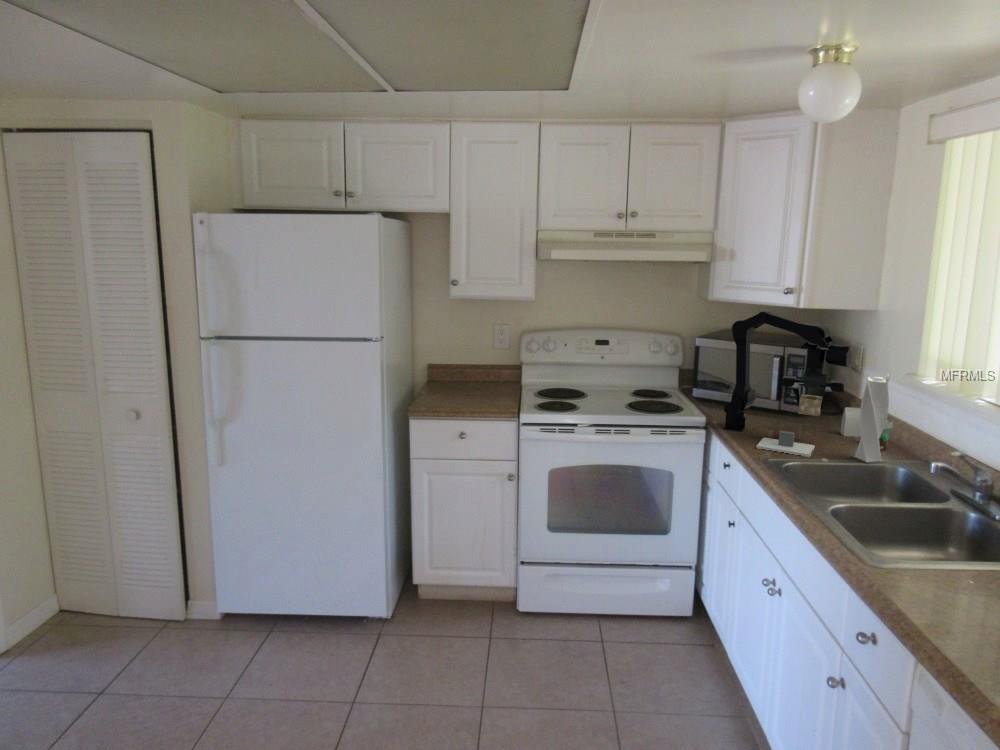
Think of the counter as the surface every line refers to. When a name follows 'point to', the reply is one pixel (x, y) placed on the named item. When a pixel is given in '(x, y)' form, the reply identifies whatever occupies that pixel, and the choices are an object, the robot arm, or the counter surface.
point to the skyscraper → (873, 419)
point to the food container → (885, 434)
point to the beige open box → (810, 405)
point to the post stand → (786, 445)
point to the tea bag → (851, 422)
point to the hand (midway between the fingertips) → (809, 408)
